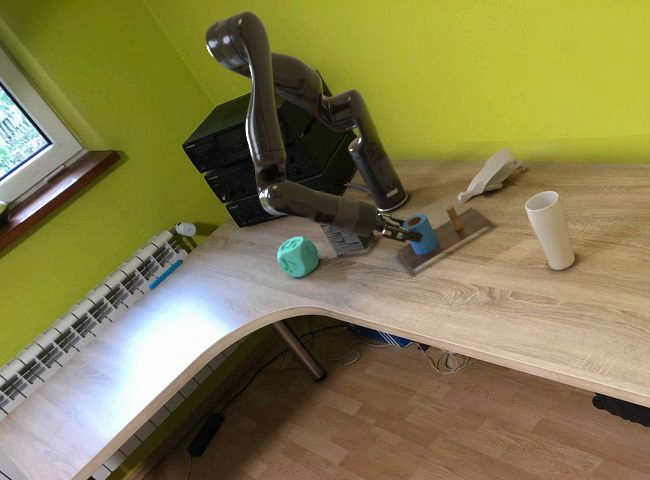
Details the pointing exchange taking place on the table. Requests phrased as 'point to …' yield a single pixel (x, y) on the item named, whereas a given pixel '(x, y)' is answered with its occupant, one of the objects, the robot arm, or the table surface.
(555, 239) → the drinking glass
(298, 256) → the decorative dice
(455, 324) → the table surface
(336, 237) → the small box
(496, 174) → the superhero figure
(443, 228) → the tape rack
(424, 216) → the tape roll
